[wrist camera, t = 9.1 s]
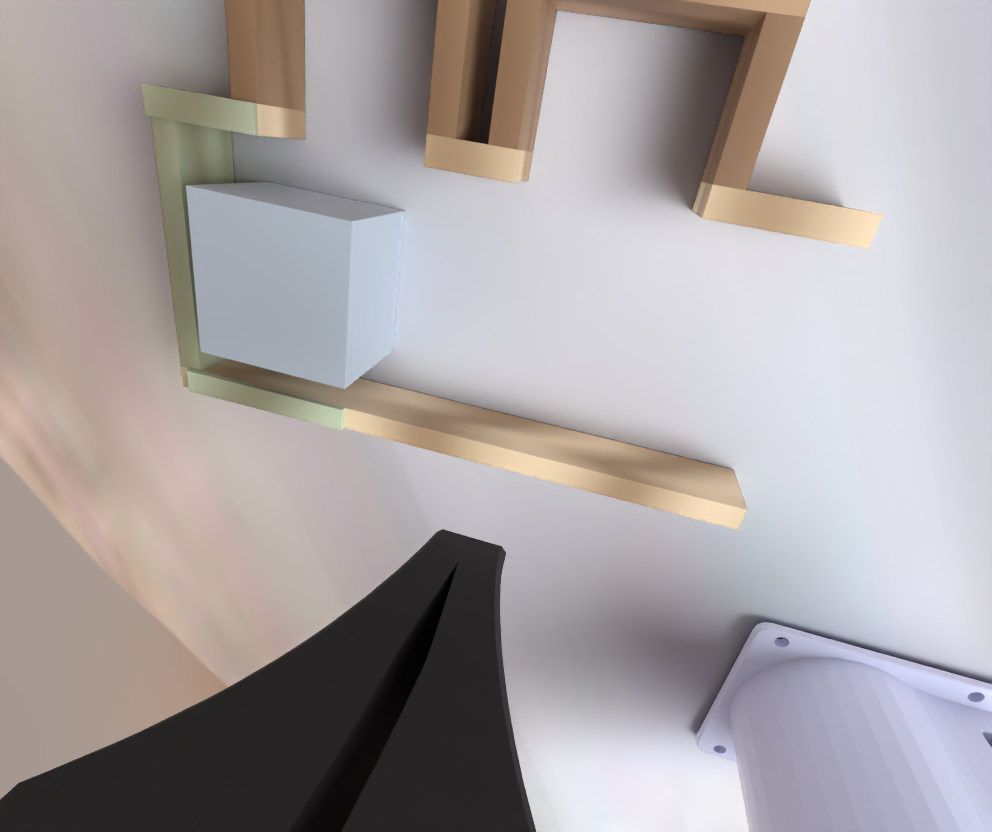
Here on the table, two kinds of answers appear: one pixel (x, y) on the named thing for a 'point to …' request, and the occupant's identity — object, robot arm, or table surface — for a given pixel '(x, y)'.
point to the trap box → (507, 157)
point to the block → (295, 278)
